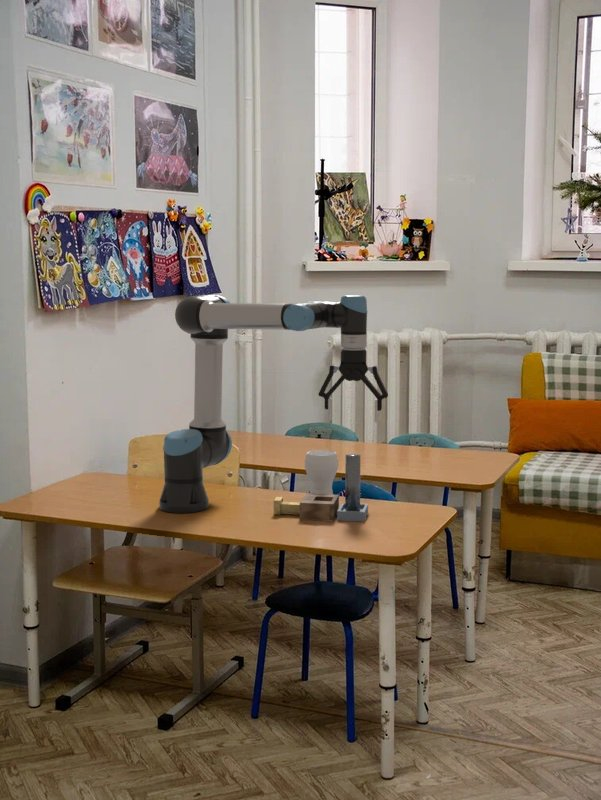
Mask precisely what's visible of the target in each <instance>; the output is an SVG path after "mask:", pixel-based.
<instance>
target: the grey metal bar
mask: <svg viewBox="0 0 601 800" xmlns="http://www.w3.org/2000/svg"><path fill="white" fill-rule="evenodd" d="M344 463H345V470H344V472H345V473H344V474H345V475H344V476H345V481H344V483H345V488H344V489H345V493H344V494H345V495H344V498H345V500H344V503H345V511H360V504H361V454H358V453H347V454H345V462H344Z"/></svg>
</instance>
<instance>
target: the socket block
mask: <svg viewBox="0 0 601 800" xmlns="http://www.w3.org/2000/svg"><path fill="white" fill-rule="evenodd" d="M299 503H300V515H299V520H304V521H305V520H307V521H309V520H310V521H328V522H329V521H330V522H331V521H332V522H334V521H335V519H336V516H337V511H338V509H339V507H340V494H334V493H333V494H310V492H308V493H305V495H304V496H303V497H302V499H301V500H300V501H299Z"/></svg>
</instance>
